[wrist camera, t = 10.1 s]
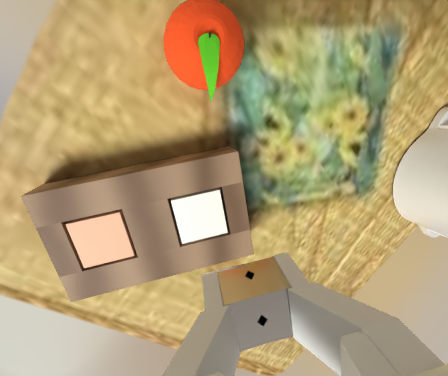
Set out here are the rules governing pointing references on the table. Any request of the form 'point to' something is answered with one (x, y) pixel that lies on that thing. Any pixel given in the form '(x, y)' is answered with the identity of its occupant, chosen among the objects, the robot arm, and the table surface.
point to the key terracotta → (101, 238)
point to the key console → (142, 219)
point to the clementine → (203, 44)
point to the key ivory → (199, 215)
